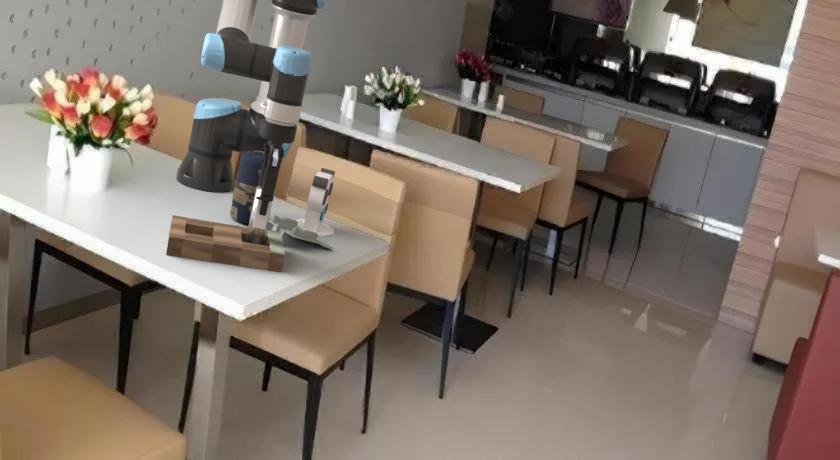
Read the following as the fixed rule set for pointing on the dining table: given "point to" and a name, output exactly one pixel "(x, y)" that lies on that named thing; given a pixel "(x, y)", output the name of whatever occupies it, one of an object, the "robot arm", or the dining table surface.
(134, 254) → the dining table surface
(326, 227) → the white upright piece
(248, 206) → the canister
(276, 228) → the metal bracket
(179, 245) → the pin plate
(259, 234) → the steel pin
